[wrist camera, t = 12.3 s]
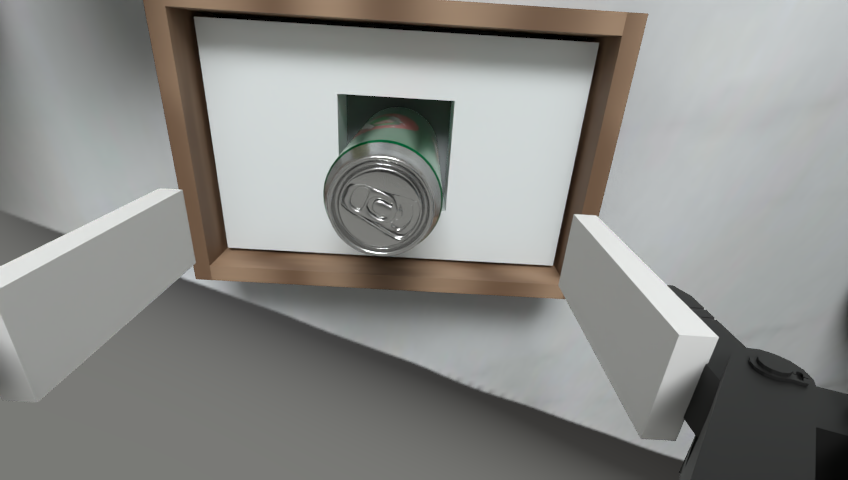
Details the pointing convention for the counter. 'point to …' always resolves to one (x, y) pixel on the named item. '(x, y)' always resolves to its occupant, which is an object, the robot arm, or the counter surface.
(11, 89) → the counter surface
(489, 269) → the open box
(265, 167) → the socket plate
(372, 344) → the counter surface
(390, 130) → the soda can
